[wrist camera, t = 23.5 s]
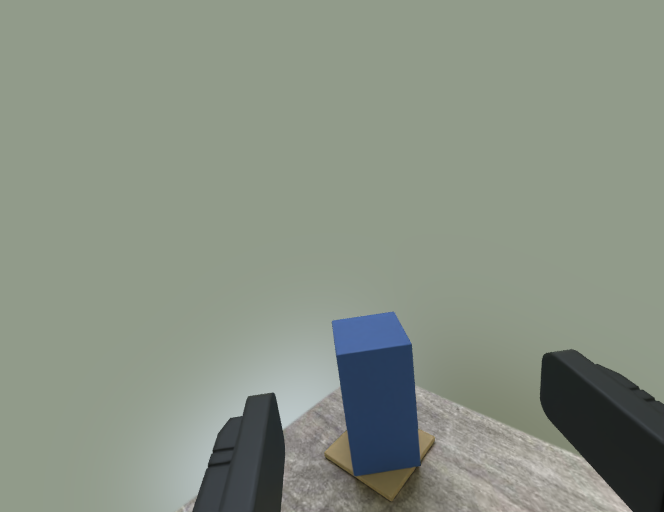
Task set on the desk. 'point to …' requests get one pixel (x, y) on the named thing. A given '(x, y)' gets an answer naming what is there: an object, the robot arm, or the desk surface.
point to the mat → (383, 481)
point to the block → (377, 393)
